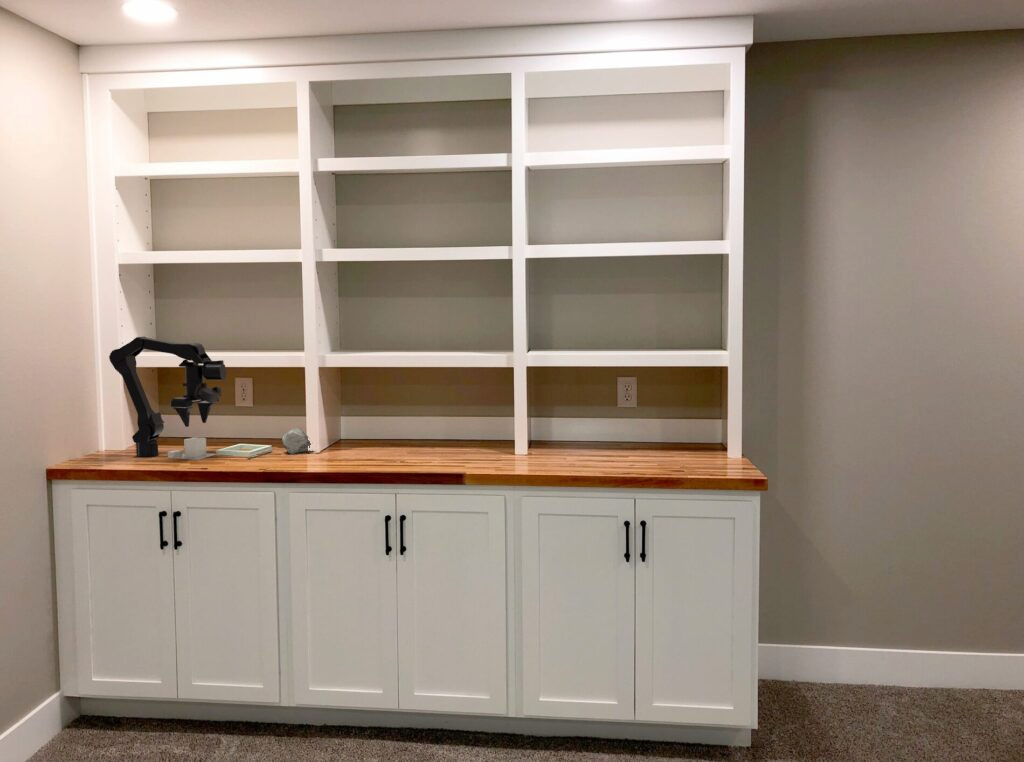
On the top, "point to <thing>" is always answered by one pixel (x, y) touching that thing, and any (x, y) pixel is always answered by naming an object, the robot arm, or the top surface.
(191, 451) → the large white cube
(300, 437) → the stone
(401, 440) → the top surface
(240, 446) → the bin
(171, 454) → the slate board
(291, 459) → the top surface
